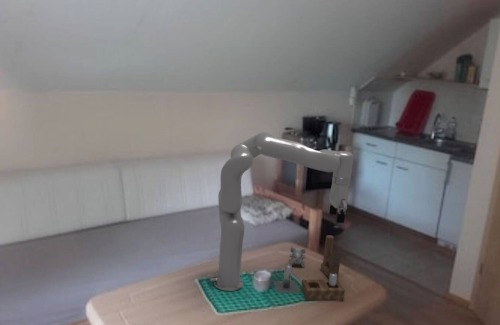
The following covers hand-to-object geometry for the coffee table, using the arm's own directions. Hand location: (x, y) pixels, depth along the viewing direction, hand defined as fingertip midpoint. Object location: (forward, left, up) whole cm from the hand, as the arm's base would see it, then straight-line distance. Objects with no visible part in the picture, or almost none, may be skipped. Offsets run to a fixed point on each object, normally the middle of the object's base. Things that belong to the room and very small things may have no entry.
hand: (336, 218), depth 192 cm
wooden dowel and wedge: (+3, +8, -31) cm, 33 cm away
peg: (-20, -3, -31) cm, 37 cm away
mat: (-20, -3, -31) cm, 37 cm away
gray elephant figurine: (-10, +20, -32) cm, 39 cm away
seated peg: (-2, -10, -31) cm, 33 cm away
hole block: (-6, -10, -31) cm, 33 cm away
